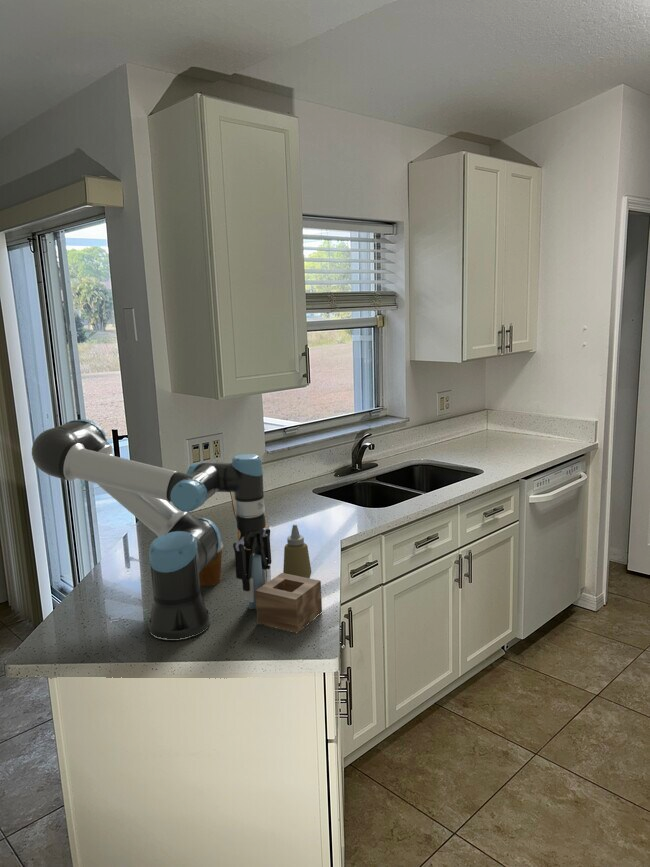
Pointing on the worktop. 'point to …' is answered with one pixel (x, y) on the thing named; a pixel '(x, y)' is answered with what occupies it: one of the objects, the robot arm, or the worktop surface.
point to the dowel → (256, 577)
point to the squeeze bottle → (296, 555)
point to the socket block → (288, 602)
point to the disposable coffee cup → (212, 570)
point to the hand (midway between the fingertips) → (256, 596)
